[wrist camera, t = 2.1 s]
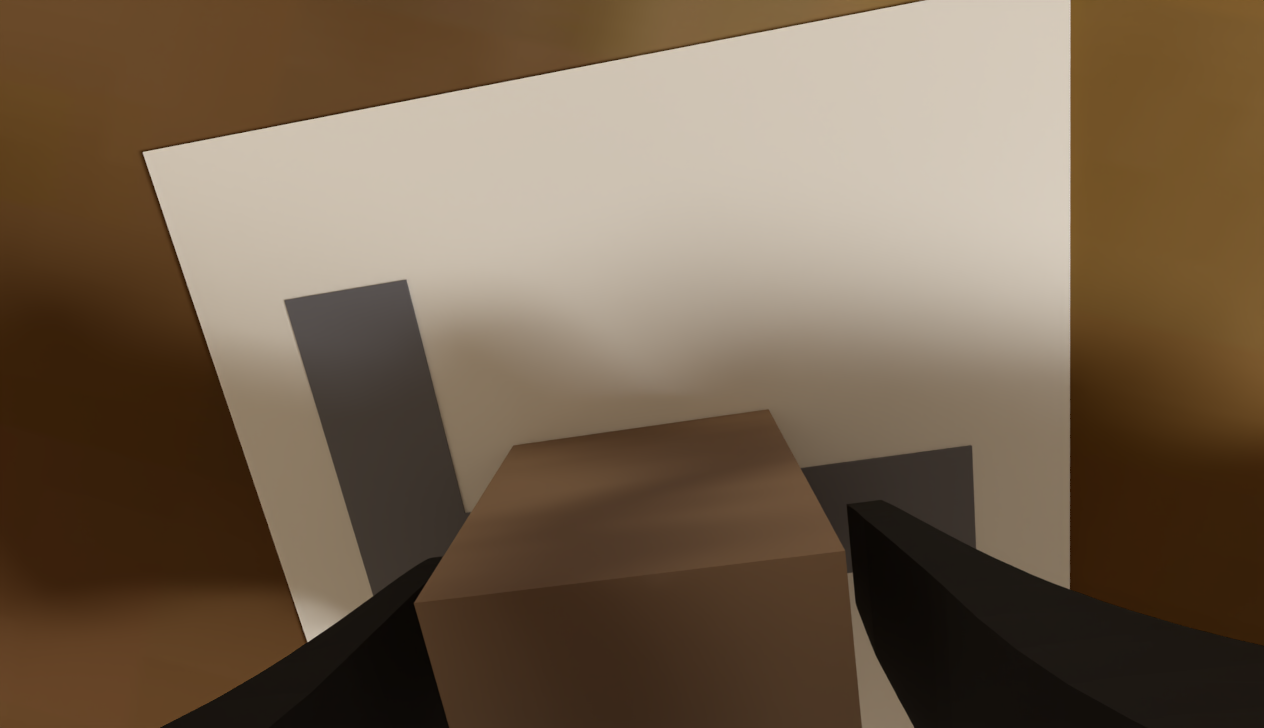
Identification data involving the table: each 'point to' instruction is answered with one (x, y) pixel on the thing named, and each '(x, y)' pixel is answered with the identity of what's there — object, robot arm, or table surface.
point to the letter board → (657, 285)
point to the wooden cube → (646, 588)
